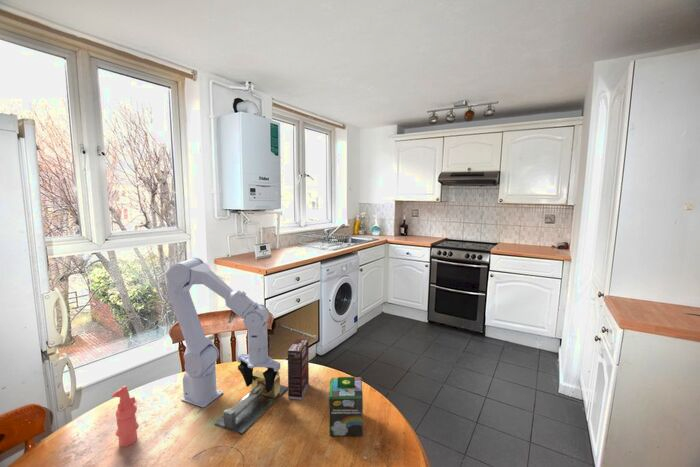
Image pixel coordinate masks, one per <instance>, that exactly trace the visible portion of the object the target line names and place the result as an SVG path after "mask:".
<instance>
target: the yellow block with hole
mask: <svg viewBox="0 0 700 467" xmlns="http://www.w3.org/2000/svg"><path fill="white" fill-rule="evenodd" d="M264 372H265V371H262V370H256V371H253V382H252V384H251V385H250V386H251V387H250V388H251V390H253V389H254V388H255V387H256V386H257V385H258V384H259V383H260V382H261V381H264V382H265V378H264V376H263V373H264ZM280 385H281V377H280V375H279V376H277V375H276V377H275V380H274V383H273V388H272V390H271V391H270V392H267V391H264V392H263V393H262V395H266V396H269V397H272V398H275V397H276V396H277V395H278V394H279V393H280Z"/></svg>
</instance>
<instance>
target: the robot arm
mask: <svg viewBox="0 0 700 467" xmlns="http://www.w3.org/2000/svg"><path fill="white" fill-rule="evenodd" d="M165 277H166V279H167V286H166V287H167V289H166V290H167V295H168V298H169V301H170V303H171V305H172V309H173V312H174V314H175V317H176V319H177V323H178V325H179V328H180V330H181V333H182V337H183V339H184V342H185V344H186V348H185V351H184V353H183V359H184V371H185V372H184V373H183V377H182V390H183V397H181V401H183V402H186V403H189V404H192V405H195V406H198V407H201V408H205V407H207V406H208V405H209V404H210V403H212V402H213V401H214V400H216V399H217V398H219V397H220V396H221V395H222V394H223V393H224V391H223V390H221V389H218V388H217V387H218V386H217V374H216V373H217V371H216V361H217V360H218V358H219V357H220V351H219V349H218V348H217V346H216V345H215V344H214V343H213V340H212V339H211V338H208V337H207V336H206V335H205V332H204V329H203V326H202V324H201V321H200V318H199V316H198V313H197V309H196V307H195V304H194V301H193V298H192V296H191V293H190V289H191V288H192V286H193V285H204V286H205V287H206V288H208V289H209V290H211V291H212V292H213V293H215V294H216V295H217V296H220V297H221V298H223V299H224V300H225V306H226V307H227V308H228V309H230V310H231V311H232V312H233V313H235V314H236V315H237V316H239V317H240V318H241V319H242V320H243V324H244V327H245V328H247V349H248V350H247V353H246V354H245V353H240V354H239V355H238V356H237V363H240V364H239V365H238V366H237V370H238V371H239V372H240V374H241V376H242V377H243V380H244V384H245V386H246V387H247V388H248V387H250V386H251V384H252V382H253V373H254V369H255V368H265V369H266V370H265V371H263V372H264V373H263V376H264V378H265V382H266V391H267V392H270V391H271V390H272V388H273V383H274V380H275V377H276V374H277V372H279V370H280V369H281V362H278V361H276V360H275V359H273V358H272V357H270V356H269V348H268V347H269V346H268V344H269V342H268V322H267V321H268V320H269V317H270V310H269V308H268V307H267V306H266V305H265V304H263V303H262V304H261V303H258V302H255V301H254V300H253V299H251V298H250V297H248V295H247V293H246V292H245V291H243V290H242V291H241V290H237V289H236V290H234V289H233V288H231V286H229V285H228V284H227V283H226V282H224V280H222V279H221V278H220V277H219V276H218V275H217V274H216V273H215V272H214V271H212V269H211V268H210V266H209V264H208V263H206V262H204V261H203V260H202V259H201V258H200V257H191V258H189V259H186V260H184V261H179V262H176V263H174V264H172V265H171V266H170V267H169V268H168V270H167V272H166V273H165Z"/></svg>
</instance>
